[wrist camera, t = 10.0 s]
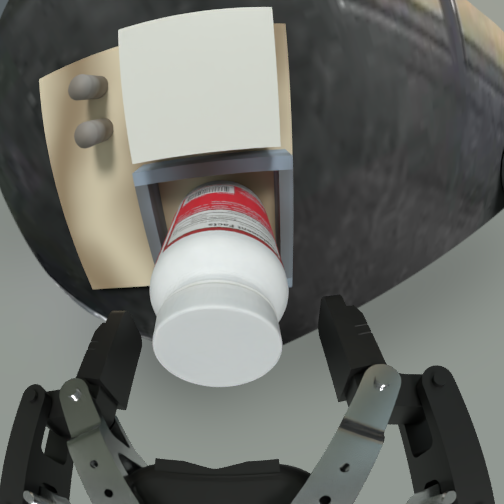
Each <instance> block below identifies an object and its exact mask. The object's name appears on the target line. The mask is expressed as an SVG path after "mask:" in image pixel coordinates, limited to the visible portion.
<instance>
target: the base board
mask: <svg viewBox="0 0 504 504" xmlns="http://www.w3.org/2000/svg"><path fill="white" fill-rule="evenodd" d="M273 26H274V39H275V52H276V66H277V82H278V99H279V119H280V142H281V147H265V148H250V149H238V150H227V151H217V152H208V153H200V154H192V155H185V156H178V157H171V158H165V159H159V160H153V161H147V162H142V163H136V164H132V159H131V153H130V147H129V141H128V135H127V128H126V121H125V113H124V105H123V96H122V86H121V75H120V61H119V46H118V47H115V48H111V49H108V50H106V51H103V52H100V53H97V54H94V55H92V56H89V57H87V58H84V59H82V60H79V61H77V62H74V63H72V64H70V65H68V66H65V67H63V68H61V69H59V70H57V71H55V72H53V73H51V74H49V75H47V76H45V77H43V78H41V79H39V84H40V97H41V107H42V116H43V123H44V130H45V136H46V142H47V147H48V152H49V157H50V162H51V167H52V171H53V175H54V179H55V183H56V187H57V191H58V195H59V198H60V202H61V205H62V208H63V212H64V215H65V218H66V221H67V224H68V227H69V230H70V233H71V236H72V239H73V242H74V244H75V247H76V250H77V252H78V255H79V258H80V260H81V263H82V265H83V267H84V270H85V272H86V275H87V277H88V279H89V282H90V284H91V286H92V288H93V289H106V288H123V287H139V286H150V280H151V276H152V272H153V269H154V266H155V263H156V261H157V258H158V255H159V253H160V251H161V248H162V246H163V243H164V241H165V238H166V236H167V233H168V231H169V229H170V226H171V224H172V221H173V219H174V216H175V214H176V212H177V209H178V207H179V205H180V204H181V202H182V200H183V199H184V198H185V197H186V196H187V194H188V193H189V192H191V191H192V190H193V189H195V188H196V187H198V186H200V185H202V184H205V183H207V182H211V181H218V180H225V181H232V182H236V183H239V184H241V185H243V186H245V187H247V188H248V189H250V190H251V191H252V192H253V193H254V194H256V196H257V197H258V198H259V199H260V201H261V202H262V204H263V206H264V208H265V210H266V213H267V216H268V219H269V222H270V225H271V228H272V231H273V235H274V238H275V241H276V244H277V248H278V251H279V254H280V257H281V260H282V263H283V266H284V270H285V273H286V278H287V282H288V287H292V270H293V156H292V125H291V101H290V82H289V66H288V51H287V38H286V26H285V24H273Z"/></svg>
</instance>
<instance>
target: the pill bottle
mask: <svg viewBox="0 0 504 504" xmlns="http://www.w3.org/2000/svg"><path fill="white" fill-rule="evenodd" d="M150 299H151V304H152V307H153V309H154V312H155V314H156V316H157V319H156V325H155V330H154V334H153V349H154V352H155V355H156V357H157V359H158V360H159V362H160V363H161V364H162V366H163V367H164V368H166V369H167V370H168V371H169V372H171V373H172V374H173V375H175V376H177V377H179V378H181V379H183V380H185V381H188V382H190V383H194V384H197V385H203V386H209V387H231V386H237V385H241V384H245V383H249V382H251V381H254V380H256V379H258V378H260V377H262V376H263V375H265V374H266V373H267V372H269V371H270V370H271V369H272V368H273V367H274V366H275V364H276V363H277V361H278V360H279V358H280V355H281V353H282V338H281V333H280V328H279V324H278V322H279V321H280V319H281V317H282V316H283V314H284V311H285V309H286V306H287V301H288V282H287V278H286V273H285V270H284V266H283V263H282V260H281V257H280V254H279V251H278V248H277V244H276V241H275V238H274V235H273V231H272V228H271V225H270V222H269V219H268V216H267V213H266V210H265V208H264V206H263V204H262V202H261V201H260V199H259V198H258V197H257V196H256V194H254V193H253V192H252V191H251V190H250V189H248V188H247V187H245V186H243V185H241V184H239V183H236V182H232V181H225V180H218V181H211V182H207V183H205V184H202V185H200V186H198V187H196V188H195V189H193V190H192V191H191V192H189V193H188V194H187V196H186V197H185V198H184V199H183V200H182V202H181V204H180V205H179V207H178V209H177V212H176V214H175V216H174V219H173V221H172V224H171V226H170V229H169V231H168V233H167V236H166V238H165V241H164V243H163V246H162V248H161V251H160V253H159V255H158V258H157V261H156V263H155V266H154V269H153V272H152V276H151V280H150Z"/></svg>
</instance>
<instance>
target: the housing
mask: <svg viewBox="0 0 504 504" xmlns="http://www.w3.org/2000/svg"><path fill="white" fill-rule="evenodd" d="M118 40H119V61H120V75H121V86H122V96H123V105H124V113H125V121H126V128H127V135H128V141H129V147H130V153H131V159H132V164H136V163H142V162H147V161H153V160H159V159H165V158H171V157H178V156H185V155H192V154H200V153H208V152H217V151H227V150H238V149H250V148H265V147H281V142H280V119H279V99H278V82H277V66H276V52H275V39H274V26H273V15H272V7H246V8H228V9H217V10H208V11H200V12H193V13H186V14H181V15H175V16H170V17H165V18H161V19H156V20H152V21H148V22H144V23H140V24H137V25H133V26H130V27H126V28H123V29H120V30H118Z"/></svg>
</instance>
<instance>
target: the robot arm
mask: <svg viewBox="0 0 504 504" xmlns="http://www.w3.org/2000/svg"><path fill="white" fill-rule="evenodd" d="M502 185H503V189H504V156H503V162H502ZM318 330H319V336H320V340H321V343H322V346H323V350H324V353H325V357H326V360H327V363H328V367H329V370H330V374H331V377H332V380H333V385H334V388H335V392H336V395H337V399H338V402H341V401H346V400H347V404H348V407H349V408H348V410H347V412H346V414H345V416H344V418H343V420H342V422H341V424H340V426H339V427H338V429H337V431H336V433H335V435H334V437H333V438H332V440H331V442H330V444H329V445H328V447H327V449H326V451H325V452H324V454H323V456H322V457H321V459H320V461H319V462H318V464H317V465H316V467H315V469H314V470H313V472H312V473H311V474H310V473H308V472H307V471H304V470H302V469H300V468H297V467H293V466H289V465H282V464H279V459H274V460H263V461H248V462H244V463H240V464H236V465H232V466H228V467H224V468H219V469H211V468H207V467H203V466H199V465H196V464H192V463H188V462H185V461H177V460H165V459H157V458H156V460H155V464H154V465H149V466H148V465H147V464H146V463H145V461H144V460H143V459H142V458H141V457H140V456H139V455H138V453H137V452H136V451H135V449H134V448H133V446H132V444H131V442H130V441H129V439H128V437H127V435H126V433H125V431H124V429H123V428H122V426H121V424H120V422H119V420H118V418H117V416H116V415H115V414H116V410H117V409H121V410H126V408H127V404H128V399H129V395H130V391H131V387H132V383H133V379H134V375H135V371H136V367H137V363H138V359H139V356H140V352H141V348H142V339H141V335H140V333H139V331H138V329H137V327H136V325H135V322H134V320H133V318H132V316H131V314H130V312H129V311H112V312H111V313H110V314H109V316H108V319H107V321H106V323H102V324H101V325H100V326H99V328H98V329H97V330H96V331H95V333H94V335H93V337H92V340H91V343H90V344H89V347H88V350H87V352H86V354H85V356H84V359H83V361H82V364H81V366H80V369H79V371H78V374H77V377H76V378H73V379H70V380H68V381H66V382H65V383H64V384H63V386H62V387H61V389H60V390H55V391H49V392H46V391H45V390H44V389H43V388H42V387H41V386H40V385H37V384H34V385H31V386H29V387H28V388H27V389H26V390H25V392H24V393H23V396H22V399H21V402H20V405H19V408H18V411H17V414H16V417H15V420H14V424H13V427H12V431H11V434H10V438H9V442H8V446H7V451H6V456H5V460H4V465H3V471H2V477H1V484H0V504H70V502H69V496H70V485H71V477H72V470H73V463H74V465H75V467H76V470H77V472H78V474H79V476H80V479H81V481H82V483H83V485H84V488H85V490H86V492H87V494H88V496H89V498H90V500H91V502H92V504H353V503H354V501H355V500H356V498H357V496H358V494H359V492H360V491H361V489H362V487H363V485H364V483H365V481H366V479H367V477H368V475H369V473H370V471H371V469H372V467H373V465H374V463H375V461H376V459H377V457H378V454H379V452H380V450H381V448H382V445H383V442H384V438H385V437H384V431H385V429H386V426H387V424H398V426H399V429H400V433H401V437H402V440H403V444H404V448H405V452H406V456H407V461H408V465H409V469H410V474H411V479H412V484H413V488H414V495H413V496H412V497H411V498H410V499H409V500H408V501H407V503H406V504H495V502H494V497H493V491H492V487H491V482H490V478H489V475H488V470H487V467H486V463H485V460H484V456H483V453H482V450H481V446H480V443H479V440H478V437H477V434H476V432H475V429H474V426H473V423H472V421H471V418H470V415H469V413H468V410H467V408H466V405H465V403H464V400H463V398H462V396H461V393H460V391H459V389H458V386H457V384H456V382H455V380H454V378H453V376H452V374H451V373H450V372H449V370H447V369H446V368H444V367H442V366H431V367H429V368H428V369H426V370H425V372H424V373H423V374H422V375H420V374H400V373H398V372H397V370H396V369H394V368H393V367H391V366H389V365H387V364H386V362H385V360H384V358H383V356H382V354H381V351H380V349H379V347H378V345H377V343H376V341H375V338H374V336H373V334H372V333H371V330H370V328H369V326H368V325H367V322H366V319H365V317H364V315H363V313H362V312H360V311H359V310H358V309H357V308H356V307H355V306H354V305H353V306H346V305H345V302H344V300H343V298H342V296H341V295H333V296H326V297H322V299H321V306H320V314H319V322H318ZM45 427H48V428H49V429H50V430H49V434H48V439H47V443H46V448H45V453H43V452H42V449H41V444H42V439H43V435H44V431H45Z"/></svg>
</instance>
